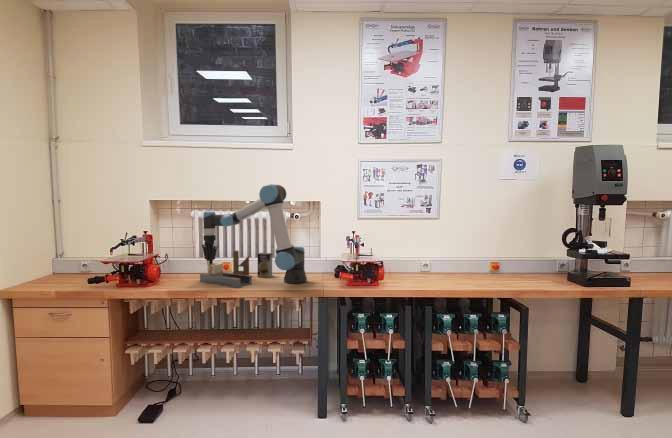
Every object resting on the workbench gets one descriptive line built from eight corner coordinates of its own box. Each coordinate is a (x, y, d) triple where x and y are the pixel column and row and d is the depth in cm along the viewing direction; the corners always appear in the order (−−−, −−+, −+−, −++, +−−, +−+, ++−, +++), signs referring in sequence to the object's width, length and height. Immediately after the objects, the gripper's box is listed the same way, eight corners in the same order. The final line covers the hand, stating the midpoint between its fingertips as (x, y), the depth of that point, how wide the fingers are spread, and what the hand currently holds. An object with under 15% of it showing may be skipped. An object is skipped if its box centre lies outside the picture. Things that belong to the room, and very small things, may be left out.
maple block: (222, 278, 243) (222, 263, 243) (214, 280, 237) (214, 265, 236) (216, 277, 246) (216, 262, 246) (208, 279, 240) (207, 264, 239)
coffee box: (257, 276, 255) (257, 253, 255) (260, 275, 262) (260, 252, 261) (269, 277, 254) (269, 254, 253) (272, 275, 261) (272, 252, 260)
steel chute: (251, 284, 234) (251, 275, 233) (237, 287, 223) (237, 279, 223) (214, 277, 251) (214, 270, 250) (199, 281, 240) (199, 273, 240)
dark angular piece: (248, 276, 256) (248, 251, 255) (232, 276, 255) (232, 251, 254) (249, 275, 260) (249, 250, 259) (233, 275, 259) (233, 250, 258)
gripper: (220, 234, 243) (221, 270, 244) (207, 233, 249) (207, 268, 250) (211, 235, 236) (212, 272, 237) (198, 234, 243) (198, 269, 244)
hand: (209, 270), depth 244 cm, fingers closed
